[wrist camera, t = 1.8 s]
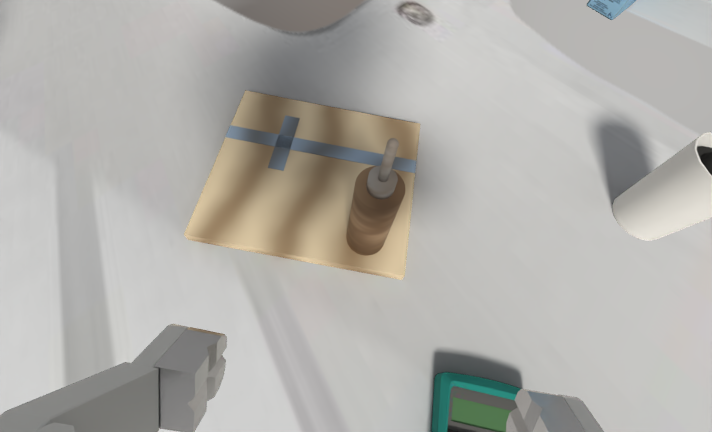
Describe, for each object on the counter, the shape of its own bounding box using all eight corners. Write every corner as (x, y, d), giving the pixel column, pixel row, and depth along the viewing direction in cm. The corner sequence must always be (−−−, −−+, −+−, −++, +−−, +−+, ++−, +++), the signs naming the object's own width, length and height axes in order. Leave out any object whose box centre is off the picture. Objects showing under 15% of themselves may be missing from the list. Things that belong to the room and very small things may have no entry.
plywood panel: (188, 239, 32) (183, 234, 31) (247, 98, 41) (245, 90, 40) (401, 279, 33) (404, 275, 32) (417, 130, 41) (420, 123, 40)
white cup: (598, 215, 38) (683, 160, 29) (623, 179, 40) (708, 119, 32) (655, 257, 36) (765, 213, 27) (677, 217, 39) (784, 165, 30)
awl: (343, 251, 32) (358, 159, 19) (349, 216, 34) (367, 111, 21) (382, 258, 32) (422, 171, 19) (386, 223, 34) (426, 122, 21)
